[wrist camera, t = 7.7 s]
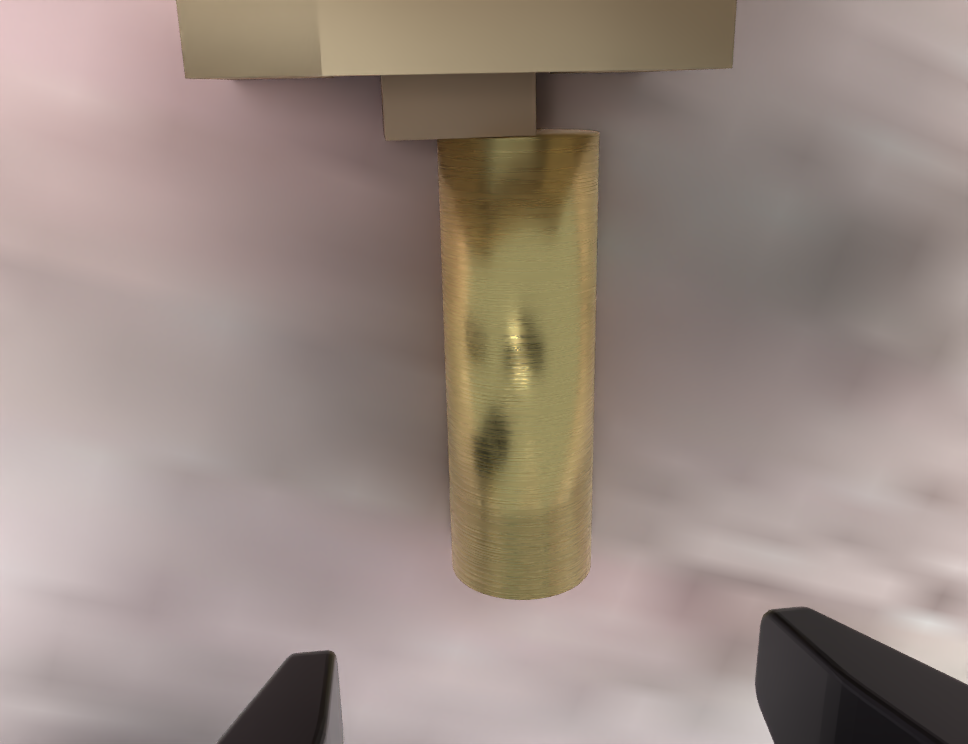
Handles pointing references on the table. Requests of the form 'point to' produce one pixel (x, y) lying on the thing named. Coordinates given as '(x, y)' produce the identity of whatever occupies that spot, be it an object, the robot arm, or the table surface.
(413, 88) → the block
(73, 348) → the table surface
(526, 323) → the axle
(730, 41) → the bearing block
